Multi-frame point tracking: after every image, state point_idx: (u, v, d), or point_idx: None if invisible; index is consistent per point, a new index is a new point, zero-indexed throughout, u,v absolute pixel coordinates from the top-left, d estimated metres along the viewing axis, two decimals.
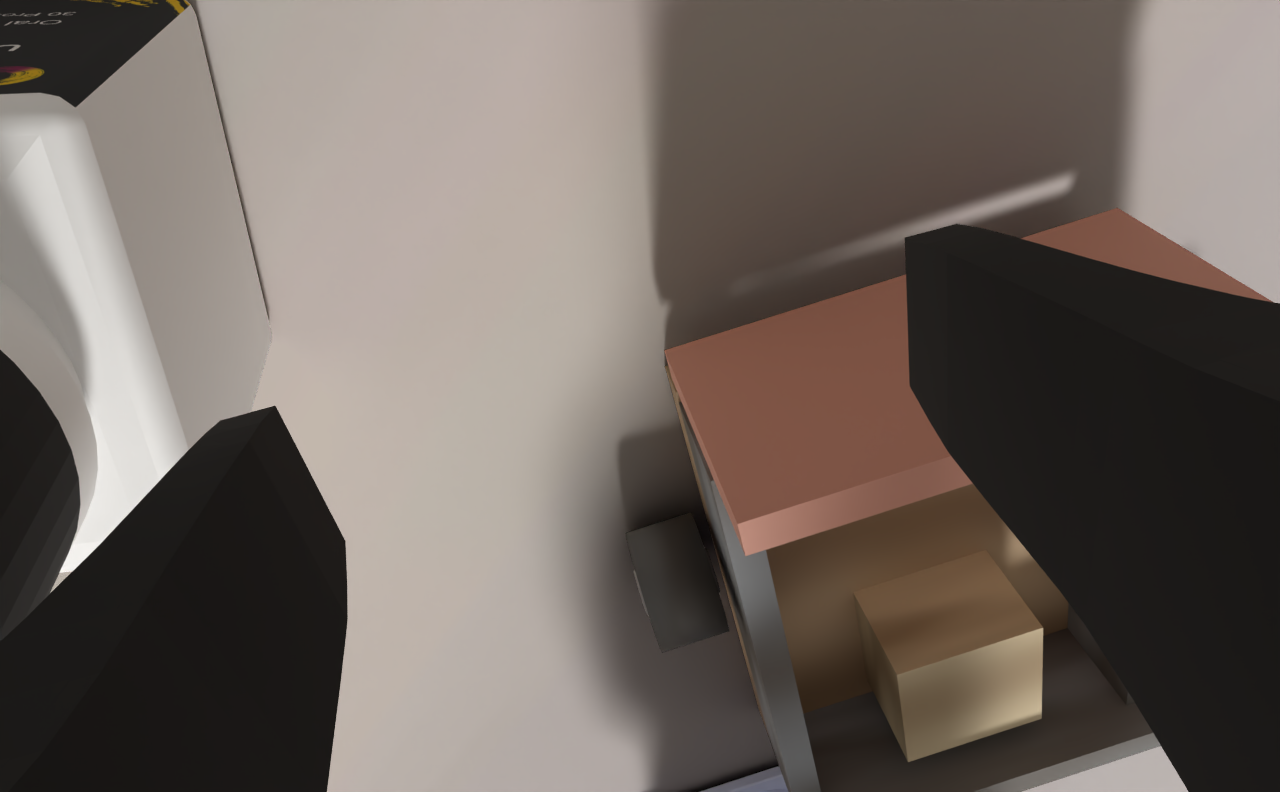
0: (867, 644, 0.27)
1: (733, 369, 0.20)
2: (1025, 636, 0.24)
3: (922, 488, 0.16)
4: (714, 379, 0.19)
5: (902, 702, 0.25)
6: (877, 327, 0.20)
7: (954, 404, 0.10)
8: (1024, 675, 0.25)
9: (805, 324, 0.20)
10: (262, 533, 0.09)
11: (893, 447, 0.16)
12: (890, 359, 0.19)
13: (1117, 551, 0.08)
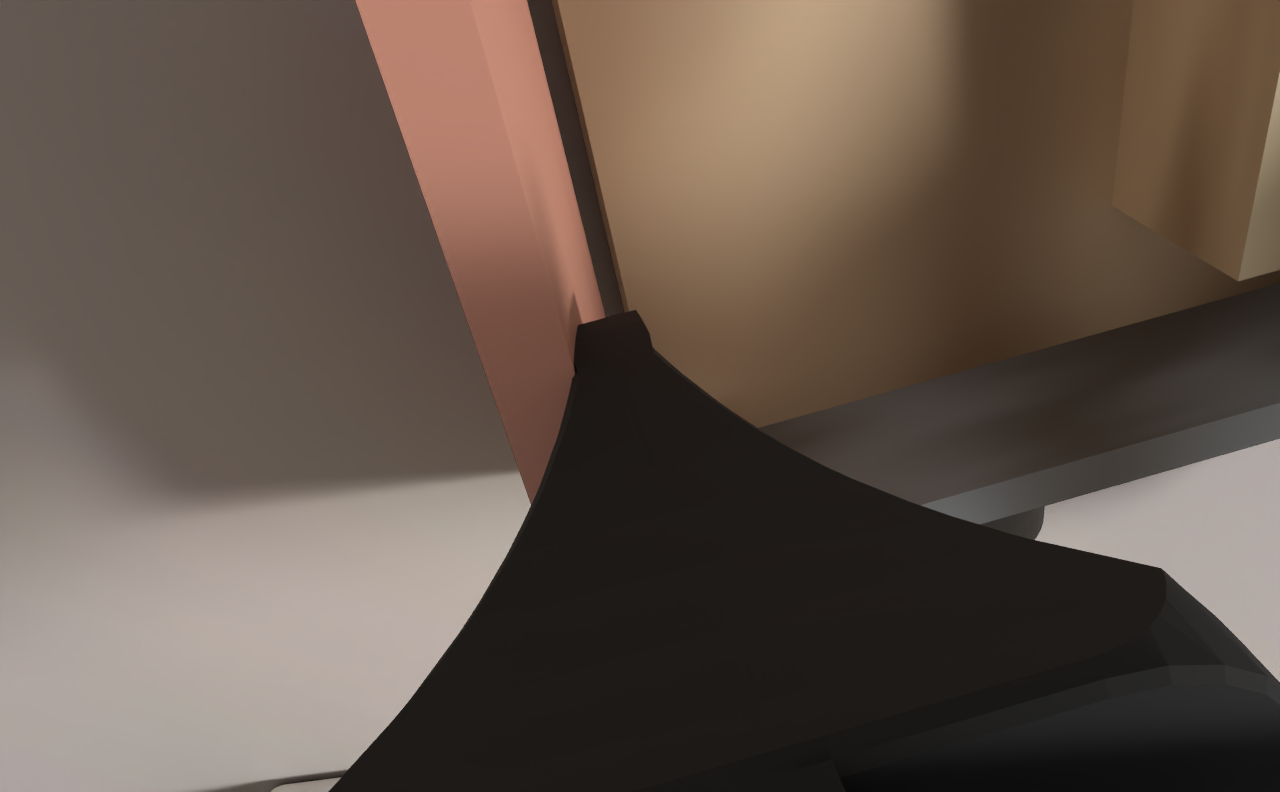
0: None
1: None
2: None
3: None
4: None
5: None
6: None
7: None
8: None
9: None
10: None
11: None
12: None
13: None
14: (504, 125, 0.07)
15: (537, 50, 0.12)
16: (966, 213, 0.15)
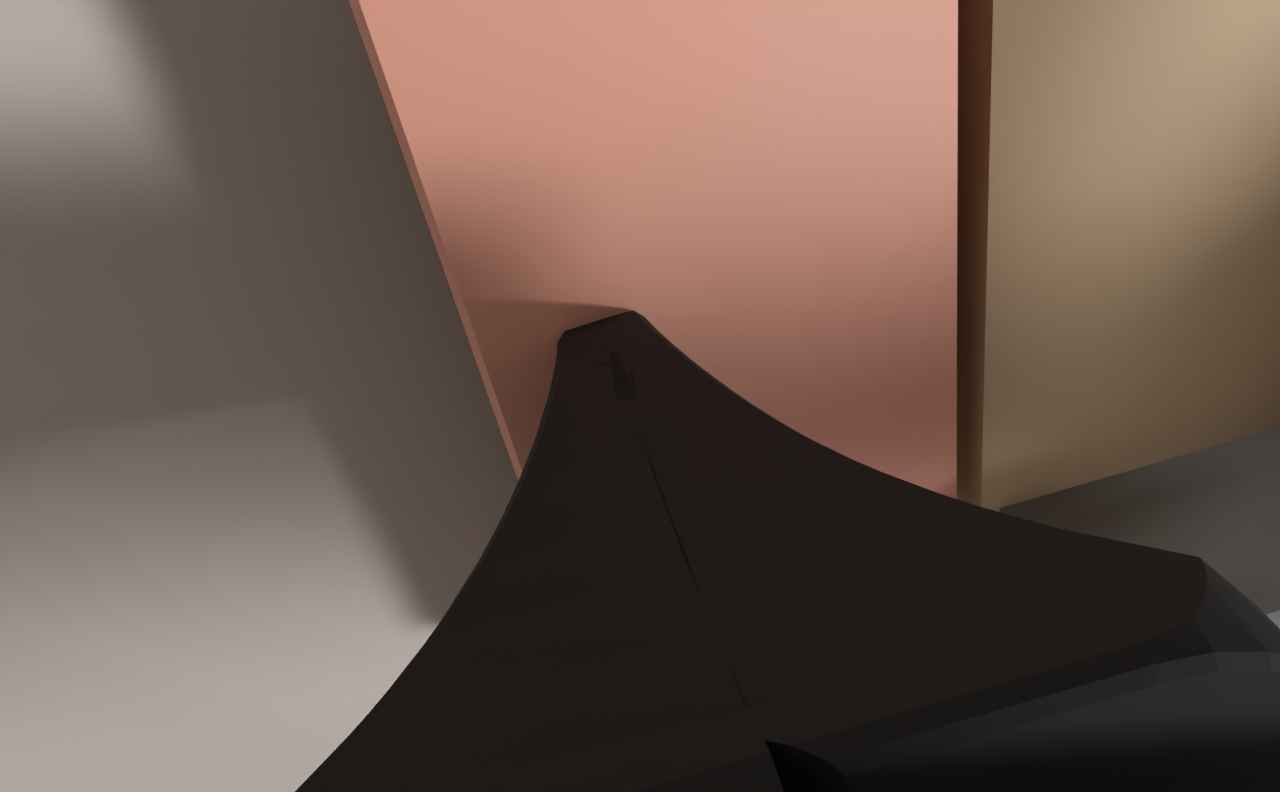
0: None
1: None
2: None
3: None
4: None
5: None
6: None
7: None
8: None
9: None
10: None
11: None
12: None
13: None
14: (398, 111, 0.08)
15: (929, 25, 0.10)
16: None
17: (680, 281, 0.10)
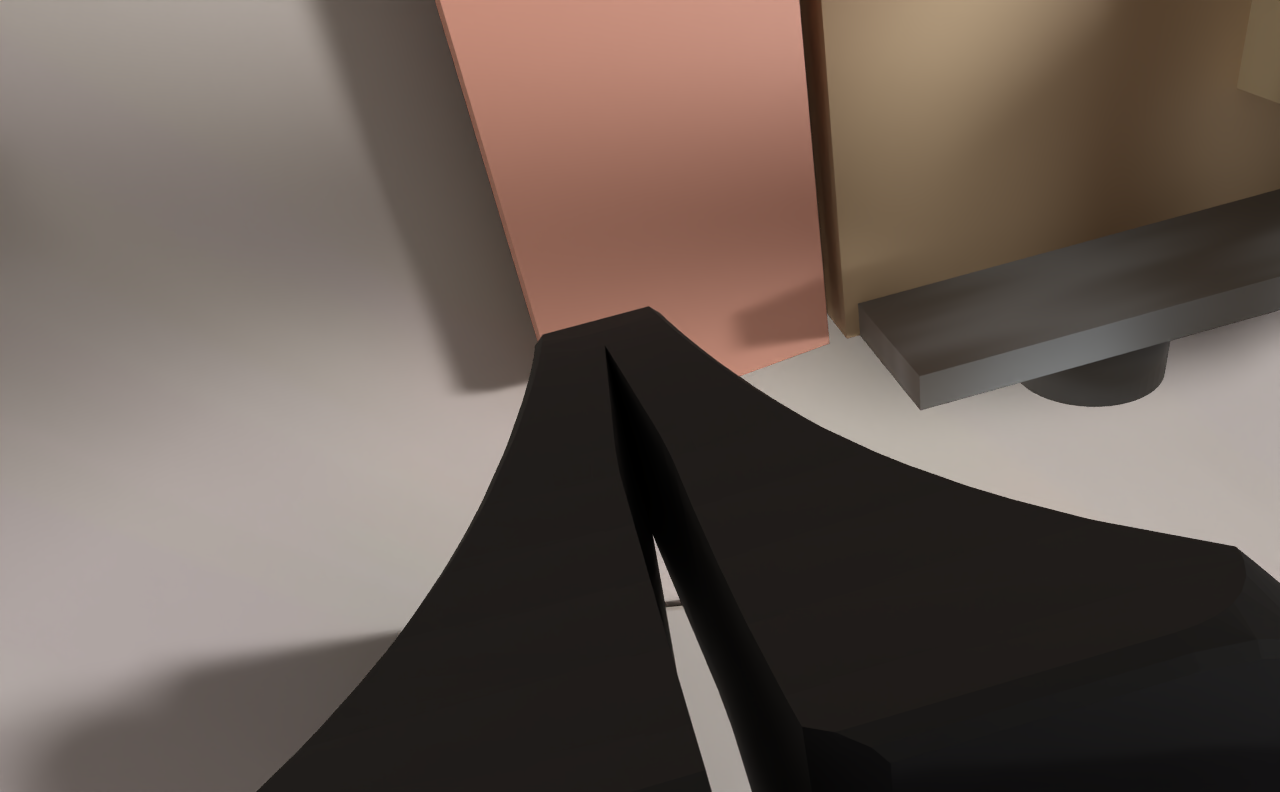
0: None
1: None
2: None
3: (526, 294, 0.18)
4: None
5: None
6: None
7: (643, 490, 0.10)
8: None
9: None
10: (623, 434, 0.09)
11: None
12: None
13: (721, 665, 0.08)
14: None
15: None
16: (1116, 91, 0.18)
17: (608, 98, 0.16)
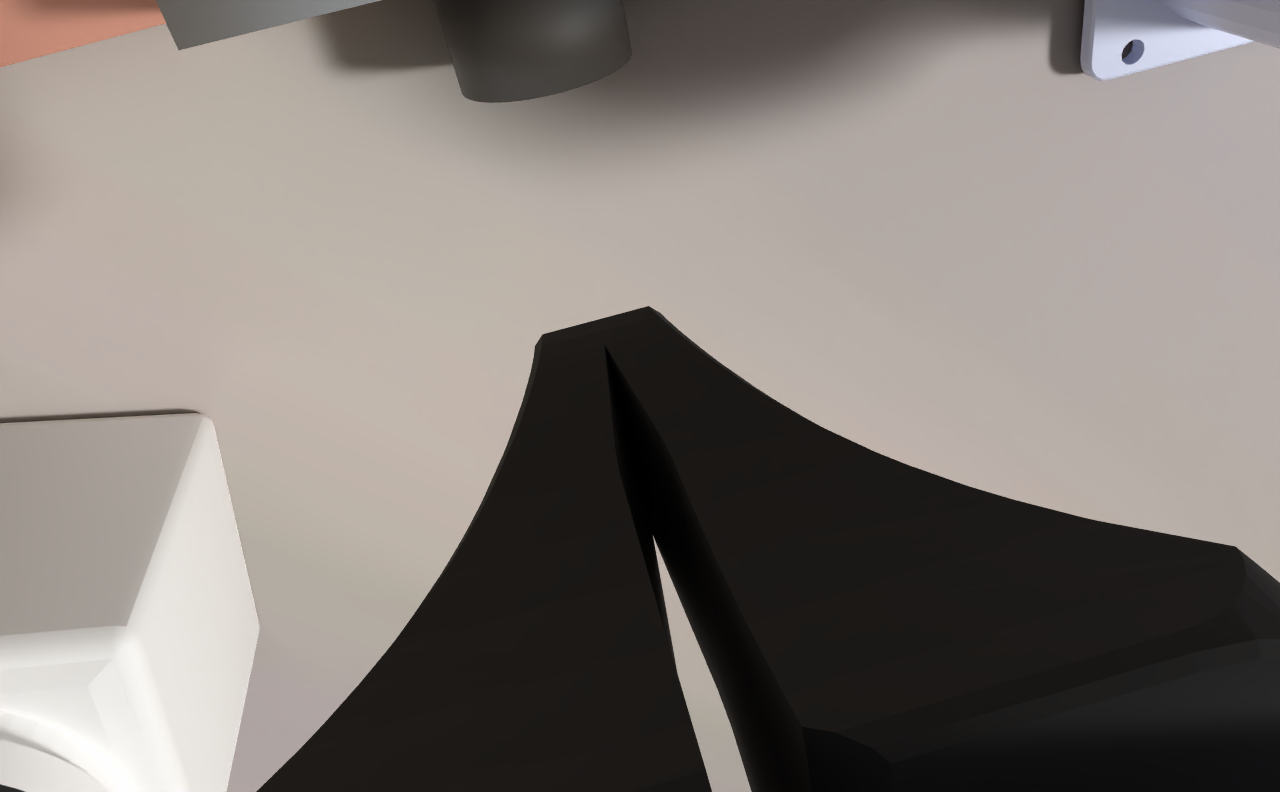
0: None
1: None
2: None
3: None
4: None
5: None
6: None
7: (643, 490, 0.10)
8: None
9: None
10: (623, 434, 0.09)
11: None
12: None
13: (721, 665, 0.08)
14: None
15: None
16: None
17: None
